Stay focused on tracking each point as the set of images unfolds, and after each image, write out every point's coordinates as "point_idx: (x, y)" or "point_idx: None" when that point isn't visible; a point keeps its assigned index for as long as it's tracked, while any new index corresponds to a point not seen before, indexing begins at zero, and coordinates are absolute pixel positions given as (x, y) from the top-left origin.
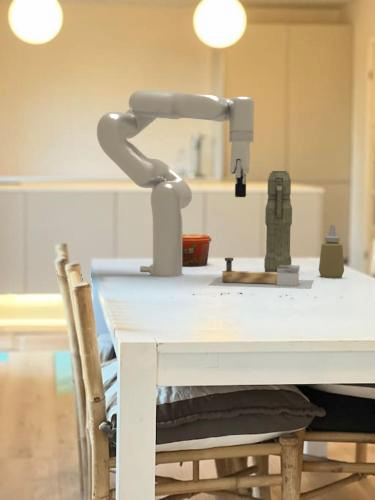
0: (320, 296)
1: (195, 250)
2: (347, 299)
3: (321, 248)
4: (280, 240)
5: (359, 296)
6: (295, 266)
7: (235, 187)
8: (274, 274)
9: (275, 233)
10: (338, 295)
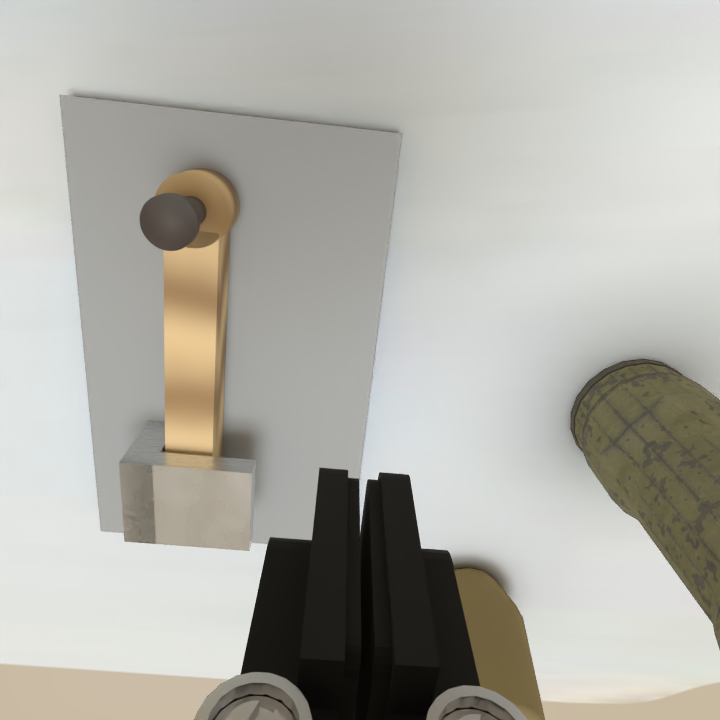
0: (60, 546)
1: None
2: (24, 613)
3: (496, 681)
4: (663, 537)
5: (105, 646)
6: (202, 535)
7: (308, 593)
8: (167, 432)
9: (694, 542)
10: (105, 595)
